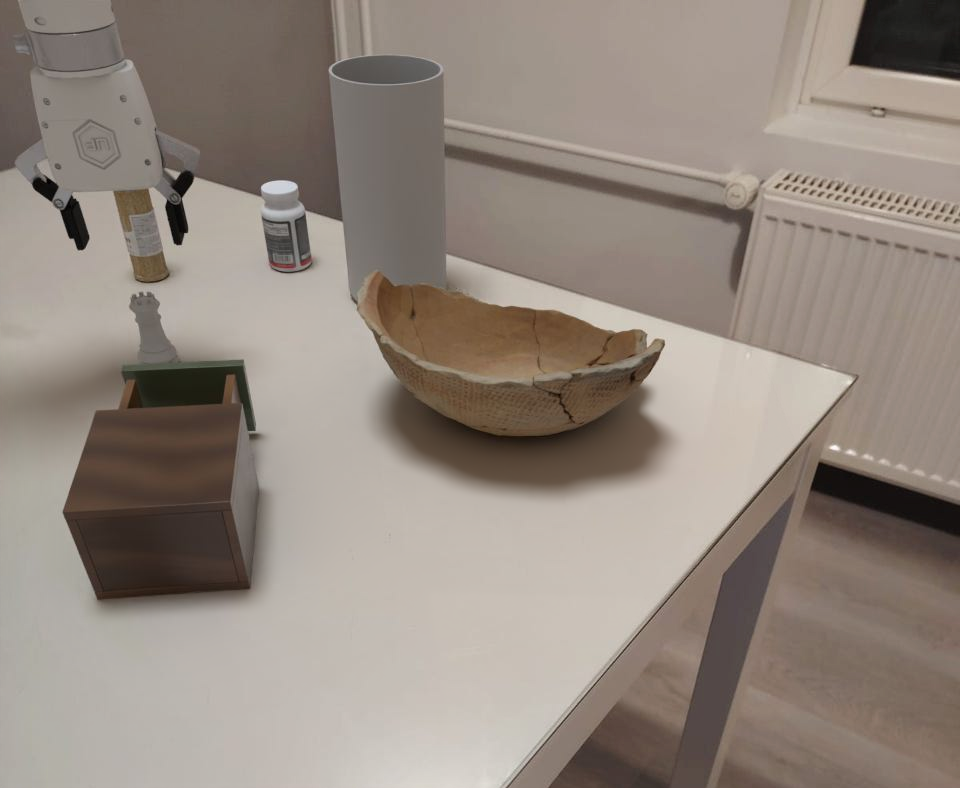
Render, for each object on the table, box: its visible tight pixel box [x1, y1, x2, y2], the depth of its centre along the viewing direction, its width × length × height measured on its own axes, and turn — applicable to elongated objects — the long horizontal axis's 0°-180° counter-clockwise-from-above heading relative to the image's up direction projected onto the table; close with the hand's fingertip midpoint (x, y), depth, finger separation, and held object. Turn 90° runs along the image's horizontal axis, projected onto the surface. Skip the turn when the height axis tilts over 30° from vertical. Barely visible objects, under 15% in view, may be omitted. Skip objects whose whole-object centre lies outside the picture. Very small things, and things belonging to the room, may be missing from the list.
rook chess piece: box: [128, 290, 180, 364], centre depth 99 cm, size 4×4×8 cm
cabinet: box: [61, 403, 260, 600], centre depth 77 cm, size 15×13×9 cm
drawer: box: [118, 358, 257, 432], centre depth 86 cm, size 18×11×7 cm, turn 7°
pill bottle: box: [260, 179, 312, 273], centre depth 118 cm, size 6×6×10 cm
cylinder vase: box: [328, 54, 448, 303], centre depth 107 cm, size 12×12×25 cm
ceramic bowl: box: [356, 270, 666, 437], centre depth 92 cm, size 30×27×15 cm
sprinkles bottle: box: [112, 188, 170, 283], centre depth 113 cm, size 5×5×14 cm
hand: (132, 242), depth 92 cm, fingers open, 9 cm apart
